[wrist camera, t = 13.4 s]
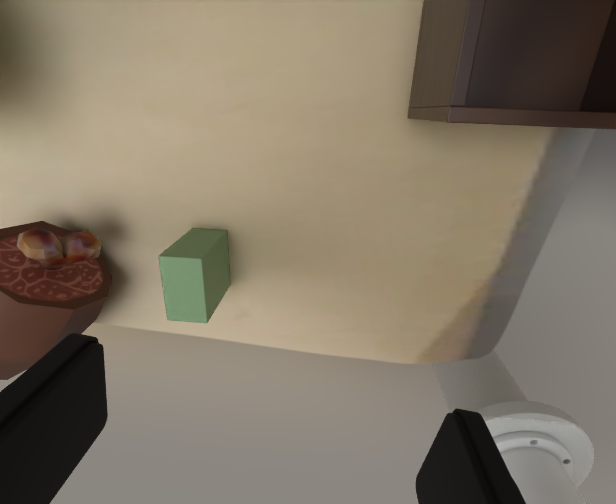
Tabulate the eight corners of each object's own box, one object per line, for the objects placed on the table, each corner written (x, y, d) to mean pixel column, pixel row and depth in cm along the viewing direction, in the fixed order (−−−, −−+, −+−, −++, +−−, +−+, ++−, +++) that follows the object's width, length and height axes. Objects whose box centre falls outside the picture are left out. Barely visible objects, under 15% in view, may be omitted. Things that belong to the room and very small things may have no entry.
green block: (230, 284, 35) (207, 323, 29) (197, 282, 36) (167, 320, 29) (227, 229, 33) (201, 258, 27) (192, 227, 33) (157, 255, 27)
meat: (54, 391, 38) (-81, 431, 29) (26, 303, 41) (-103, 313, 32) (157, 292, 31) (22, 303, 22) (113, 196, 34) (-19, 170, 25)
